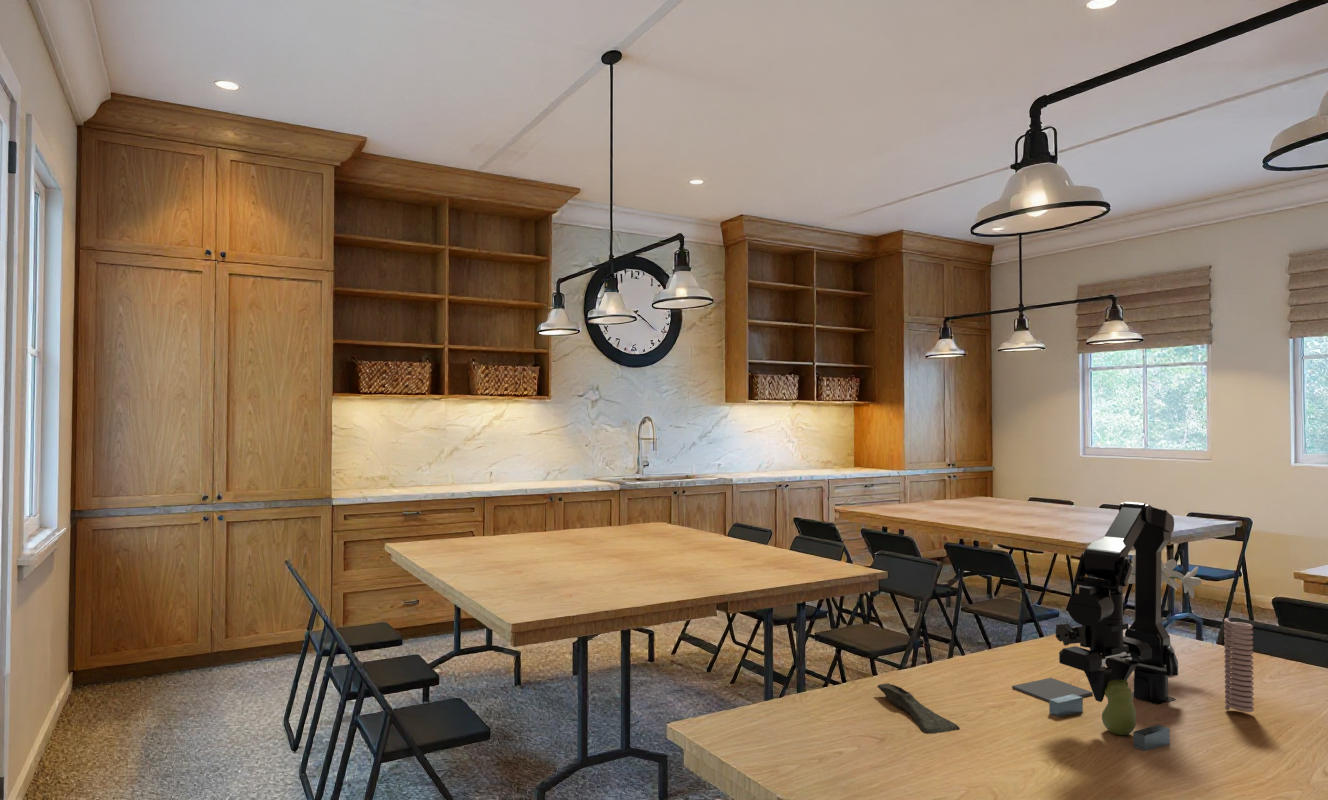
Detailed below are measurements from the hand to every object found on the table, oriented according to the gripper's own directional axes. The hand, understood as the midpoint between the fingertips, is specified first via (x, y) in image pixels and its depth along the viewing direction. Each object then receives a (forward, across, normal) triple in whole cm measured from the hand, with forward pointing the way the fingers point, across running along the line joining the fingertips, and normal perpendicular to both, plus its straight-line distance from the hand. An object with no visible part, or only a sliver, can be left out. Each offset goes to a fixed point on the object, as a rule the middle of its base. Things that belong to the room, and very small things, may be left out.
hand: (1106, 699), depth 147 cm
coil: (+6, -32, +6) cm, 33 cm away
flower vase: (+6, -47, -21) cm, 52 cm away
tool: (+7, +25, -22) cm, 34 cm away
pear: (+6, 0, +2) cm, 6 cm away
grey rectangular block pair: (+6, 0, 0) cm, 6 cm away
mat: (+6, -8, -18) cm, 21 cm away
